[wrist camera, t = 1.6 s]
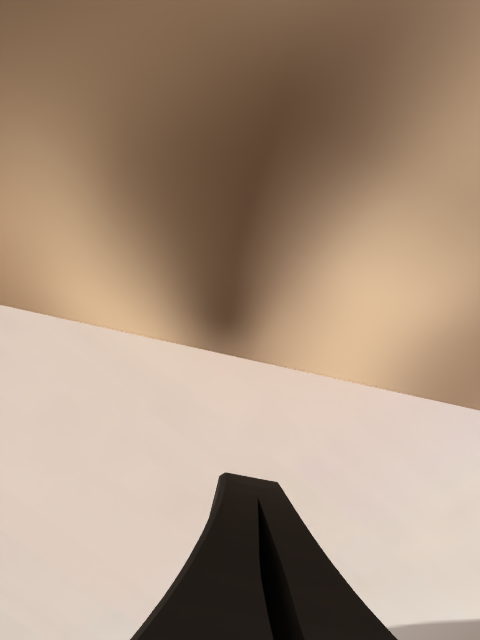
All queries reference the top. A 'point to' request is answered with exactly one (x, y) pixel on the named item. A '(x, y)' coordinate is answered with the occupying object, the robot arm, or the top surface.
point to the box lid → (251, 180)
